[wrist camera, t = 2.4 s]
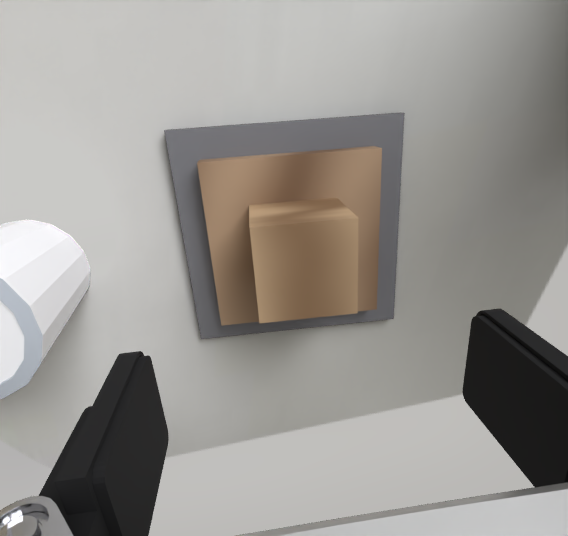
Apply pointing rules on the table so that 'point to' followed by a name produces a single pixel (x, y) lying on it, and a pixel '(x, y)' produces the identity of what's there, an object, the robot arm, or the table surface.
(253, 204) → the lid
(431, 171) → the table surface
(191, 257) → the mat
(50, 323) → the white round container
